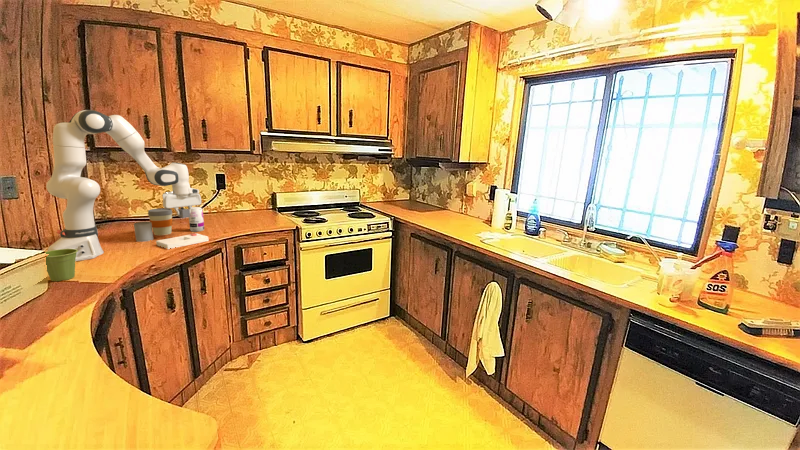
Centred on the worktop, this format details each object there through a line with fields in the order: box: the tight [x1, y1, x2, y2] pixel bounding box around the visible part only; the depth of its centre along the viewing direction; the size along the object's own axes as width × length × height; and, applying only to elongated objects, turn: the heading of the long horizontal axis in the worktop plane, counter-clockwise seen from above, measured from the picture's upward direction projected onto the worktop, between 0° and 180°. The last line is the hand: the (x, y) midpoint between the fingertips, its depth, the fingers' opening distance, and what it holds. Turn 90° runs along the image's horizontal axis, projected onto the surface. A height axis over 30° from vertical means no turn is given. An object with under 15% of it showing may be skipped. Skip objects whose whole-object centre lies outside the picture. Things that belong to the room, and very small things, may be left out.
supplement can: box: [188, 206, 205, 233], centre depth 230 cm, size 8×8×15 cm
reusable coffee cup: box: [147, 207, 173, 236], centre depth 220 cm, size 12×12×15 cm
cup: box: [133, 221, 155, 243], centre depth 206 cm, size 8×8×10 cm
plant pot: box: [44, 249, 78, 282], centre depth 146 cm, size 12×12×11 cm
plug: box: [177, 207, 190, 219], centre depth 209 cm, size 4×6×6 cm
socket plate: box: [155, 232, 210, 250], centre depth 202 cm, size 22×13×3 cm, turn 146°
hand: (183, 214), depth 209 cm, fingers closed on plug, 4 cm apart
